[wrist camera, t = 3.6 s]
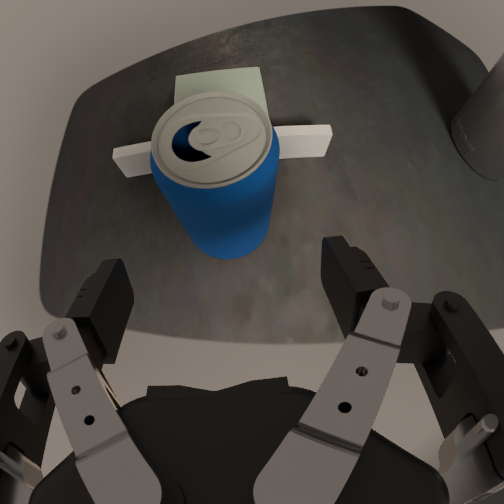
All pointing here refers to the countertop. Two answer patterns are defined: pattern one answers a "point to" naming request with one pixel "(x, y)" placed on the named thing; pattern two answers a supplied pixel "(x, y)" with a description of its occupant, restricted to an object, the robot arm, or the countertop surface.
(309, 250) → the countertop surface
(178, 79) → the mat
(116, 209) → the countertop surface
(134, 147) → the low wall
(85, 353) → the robot arm
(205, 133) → the beverage can
